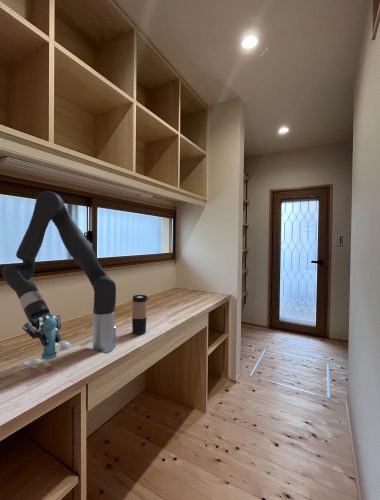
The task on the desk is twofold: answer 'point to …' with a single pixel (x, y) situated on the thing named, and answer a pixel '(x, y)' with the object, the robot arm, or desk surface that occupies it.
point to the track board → (41, 365)
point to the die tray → (62, 346)
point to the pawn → (49, 338)
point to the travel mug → (139, 314)
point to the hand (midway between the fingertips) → (52, 343)
